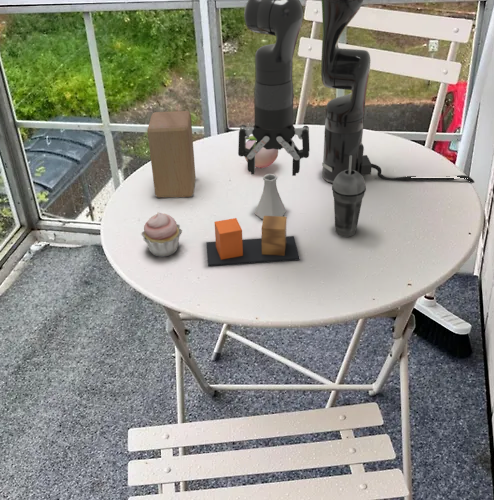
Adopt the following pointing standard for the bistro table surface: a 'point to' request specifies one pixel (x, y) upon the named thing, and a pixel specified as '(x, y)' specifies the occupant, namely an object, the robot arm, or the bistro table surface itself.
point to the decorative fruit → (262, 154)
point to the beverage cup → (347, 200)
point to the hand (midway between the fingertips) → (273, 173)
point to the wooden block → (172, 153)
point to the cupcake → (161, 234)
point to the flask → (270, 199)
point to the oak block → (274, 235)
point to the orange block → (228, 238)
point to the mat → (252, 253)
